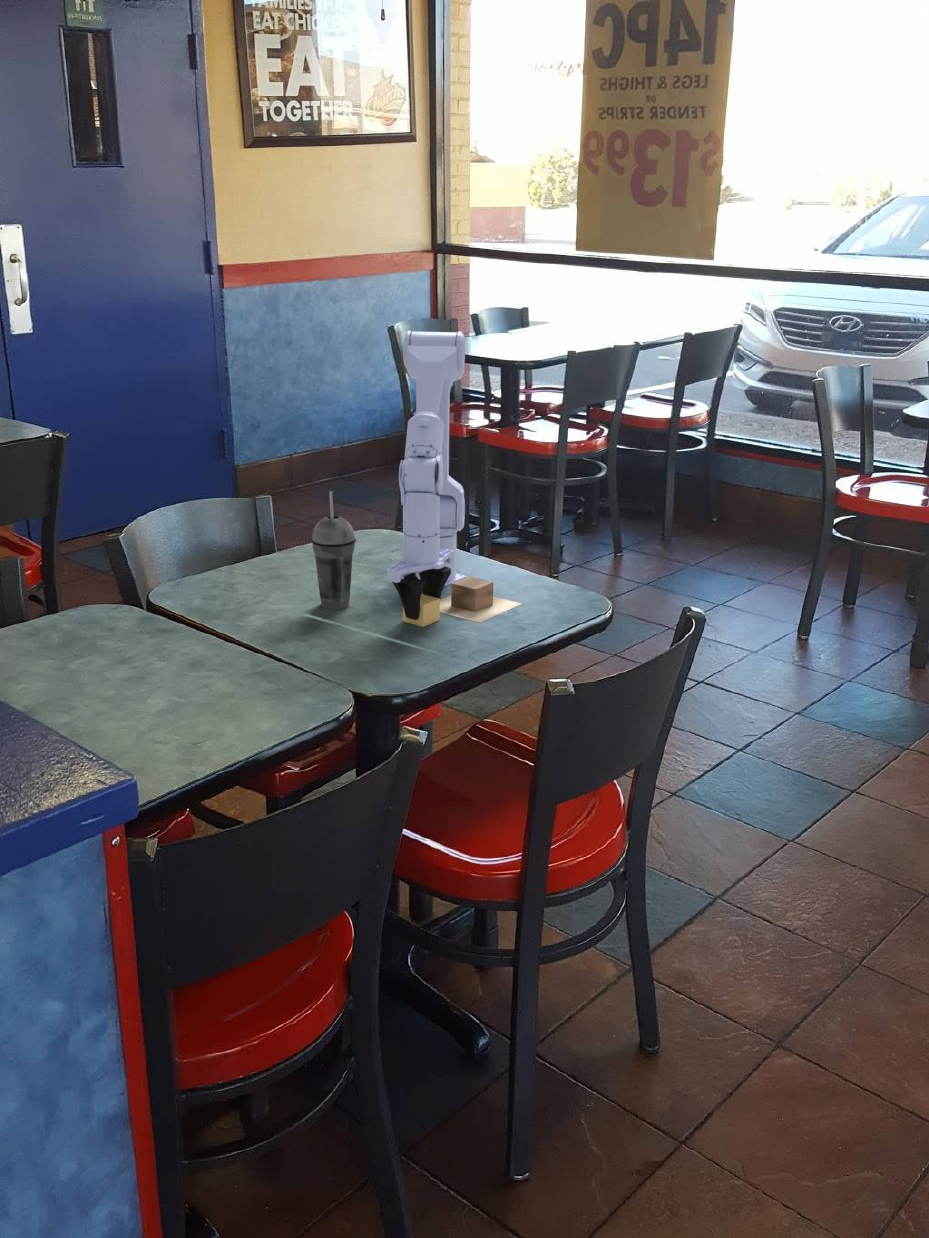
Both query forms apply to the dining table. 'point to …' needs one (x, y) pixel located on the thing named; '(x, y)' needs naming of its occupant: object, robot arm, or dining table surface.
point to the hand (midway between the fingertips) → (421, 614)
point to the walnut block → (472, 594)
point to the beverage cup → (334, 559)
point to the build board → (479, 616)
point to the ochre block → (426, 611)
